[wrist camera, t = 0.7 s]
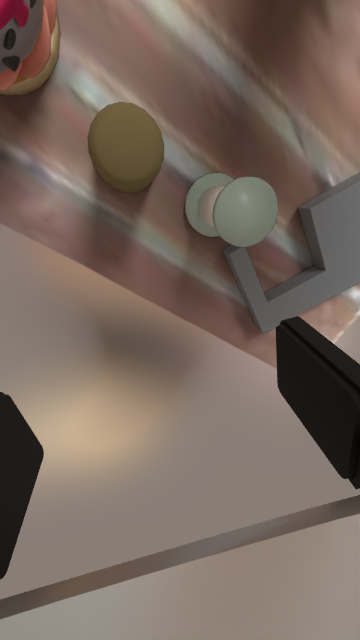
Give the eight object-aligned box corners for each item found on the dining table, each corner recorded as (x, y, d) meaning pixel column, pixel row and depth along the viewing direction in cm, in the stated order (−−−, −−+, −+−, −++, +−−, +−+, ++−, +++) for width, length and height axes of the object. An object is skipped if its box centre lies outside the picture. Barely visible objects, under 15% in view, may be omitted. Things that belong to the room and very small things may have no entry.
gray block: (376, 162, 32) (395, 160, 29) (388, 254, 37) (404, 258, 35) (222, 249, 33) (229, 254, 31) (255, 325, 38) (263, 333, 36)
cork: (167, 178, 29) (187, 173, 19) (115, 203, 29) (108, 212, 19) (140, 111, 26) (148, 67, 16) (83, 140, 26) (57, 113, 16)
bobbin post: (227, 161, 29) (270, 150, 20) (248, 217, 32) (294, 230, 23) (174, 192, 29) (194, 195, 21) (199, 245, 32) (226, 267, 23)
